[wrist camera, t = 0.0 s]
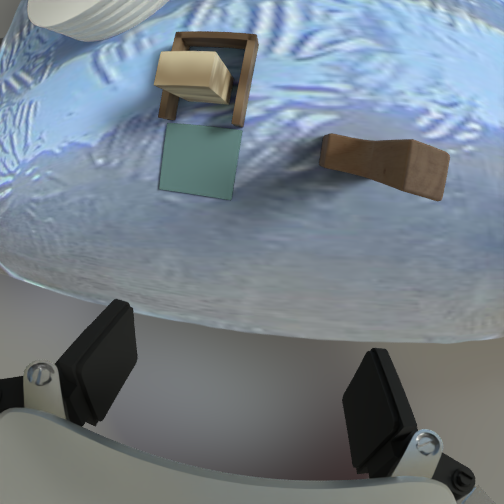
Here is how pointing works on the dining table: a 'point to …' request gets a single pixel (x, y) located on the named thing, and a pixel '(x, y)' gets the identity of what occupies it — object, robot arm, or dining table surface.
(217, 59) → the birch block
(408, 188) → the wooden block
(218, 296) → the dining table surface
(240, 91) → the crate
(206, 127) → the mat
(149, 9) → the plate stack
